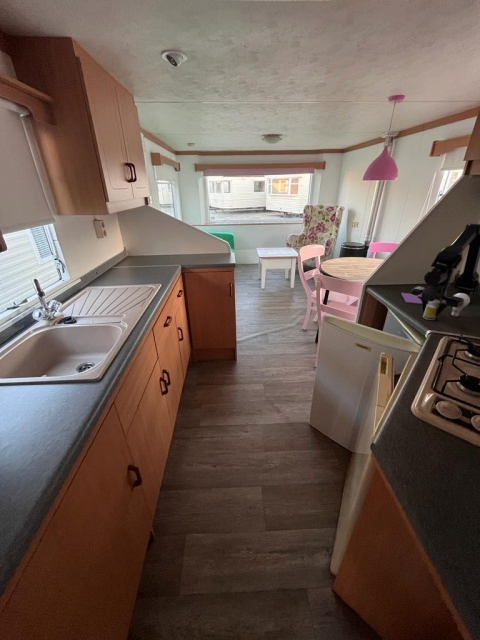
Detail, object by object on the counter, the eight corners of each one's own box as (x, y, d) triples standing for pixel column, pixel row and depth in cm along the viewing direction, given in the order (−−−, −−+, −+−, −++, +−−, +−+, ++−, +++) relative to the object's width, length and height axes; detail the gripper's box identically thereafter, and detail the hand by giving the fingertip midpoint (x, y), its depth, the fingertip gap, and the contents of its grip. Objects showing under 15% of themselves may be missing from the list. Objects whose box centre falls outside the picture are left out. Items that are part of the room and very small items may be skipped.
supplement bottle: (437, 320, 117) (443, 303, 113) (425, 320, 118) (430, 302, 114) (432, 316, 121) (438, 299, 117) (420, 315, 122) (426, 298, 118)
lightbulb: (455, 313, 124) (464, 290, 119) (466, 319, 118) (476, 296, 113) (442, 313, 124) (450, 291, 119) (452, 319, 118) (461, 296, 113)
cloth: (400, 293, 148) (401, 292, 147) (429, 296, 143) (430, 295, 143) (406, 302, 136) (406, 301, 136) (437, 305, 132) (438, 305, 131)
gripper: (408, 278, 115) (399, 310, 122) (456, 290, 101) (442, 326, 108) (422, 274, 120) (413, 305, 127) (470, 285, 106) (457, 320, 112)
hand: (430, 314), depth 118 cm, fingers closed on supplement bottle, 5 cm apart
